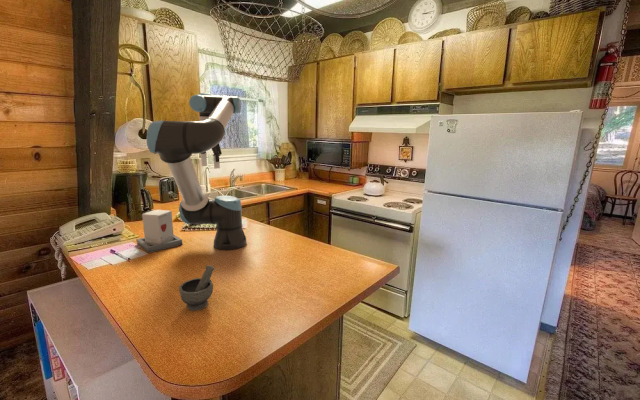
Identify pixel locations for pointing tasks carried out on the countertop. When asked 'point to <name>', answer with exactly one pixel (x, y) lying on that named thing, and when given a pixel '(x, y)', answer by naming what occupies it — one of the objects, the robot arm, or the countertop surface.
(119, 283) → the countertop surface
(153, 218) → the supplement box
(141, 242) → the charcoal tray
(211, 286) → the mortar and pestle
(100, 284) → the countertop surface
